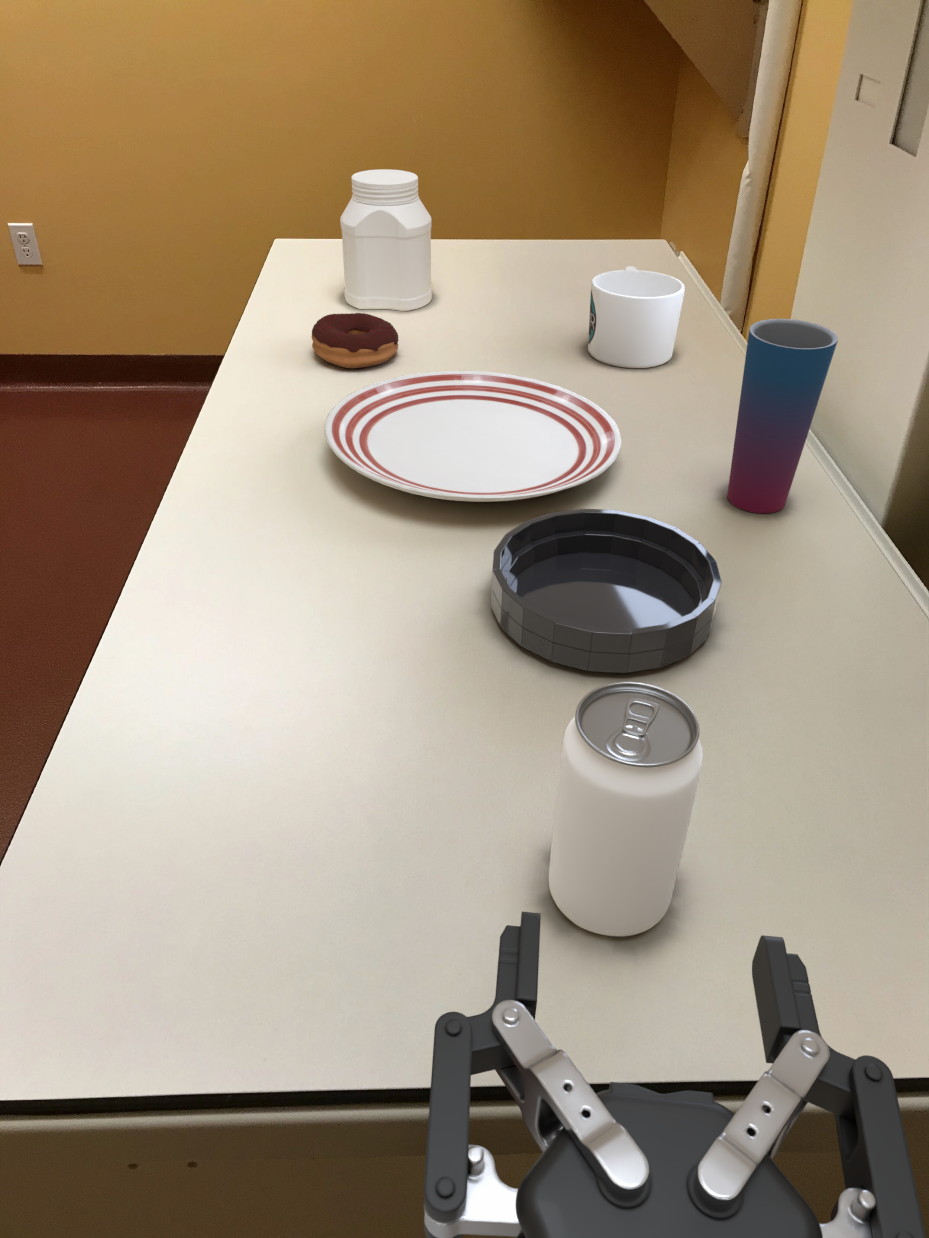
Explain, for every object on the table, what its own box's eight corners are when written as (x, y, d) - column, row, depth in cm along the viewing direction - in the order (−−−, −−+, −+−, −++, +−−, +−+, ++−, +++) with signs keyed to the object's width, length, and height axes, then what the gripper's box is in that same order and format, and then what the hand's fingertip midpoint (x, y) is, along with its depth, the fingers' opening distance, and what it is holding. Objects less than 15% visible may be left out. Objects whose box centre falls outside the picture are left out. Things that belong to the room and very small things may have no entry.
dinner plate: (530, 379, 106) (532, 350, 104) (677, 490, 86) (682, 457, 84) (289, 422, 96) (286, 391, 94) (392, 558, 76) (391, 522, 74)
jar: (339, 308, 123) (331, 183, 115) (351, 285, 131) (344, 166, 122) (428, 312, 123) (427, 187, 114) (434, 288, 131) (434, 169, 122)
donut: (406, 368, 108) (405, 334, 105) (318, 375, 106) (315, 340, 103) (390, 337, 116) (389, 304, 113) (308, 343, 114) (305, 309, 111)
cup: (704, 503, 84) (736, 336, 75) (734, 474, 89) (767, 312, 80) (779, 527, 81) (822, 355, 72) (806, 495, 86) (849, 330, 77)
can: (531, 917, 49) (547, 748, 42) (567, 827, 54) (587, 662, 47) (655, 959, 47) (694, 789, 40) (681, 862, 52) (720, 695, 45)
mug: (681, 371, 108) (692, 299, 104) (588, 369, 108) (595, 297, 104) (664, 329, 119) (673, 263, 114) (579, 327, 119) (585, 261, 115)
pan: (615, 530, 80) (620, 490, 78) (758, 630, 69) (769, 587, 67) (450, 587, 73) (450, 544, 71) (581, 708, 62) (586, 662, 60)
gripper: (1076, 1550, 19) (875, 888, 32) (369, 1454, 20) (453, 849, 33) (954, 1621, 23) (821, 1014, 37) (380, 1540, 24) (450, 977, 37)
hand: (646, 936), depth 35 cm, fingers open, 8 cm apart
